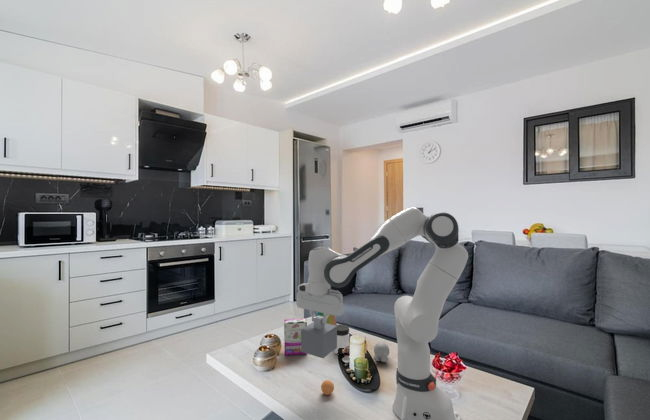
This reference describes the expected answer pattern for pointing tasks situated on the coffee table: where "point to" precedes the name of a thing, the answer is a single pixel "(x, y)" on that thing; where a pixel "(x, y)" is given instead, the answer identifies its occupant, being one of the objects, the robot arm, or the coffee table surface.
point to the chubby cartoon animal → (381, 352)
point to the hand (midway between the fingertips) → (319, 322)
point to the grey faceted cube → (318, 338)
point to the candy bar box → (293, 336)
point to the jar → (342, 337)
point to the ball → (327, 387)
